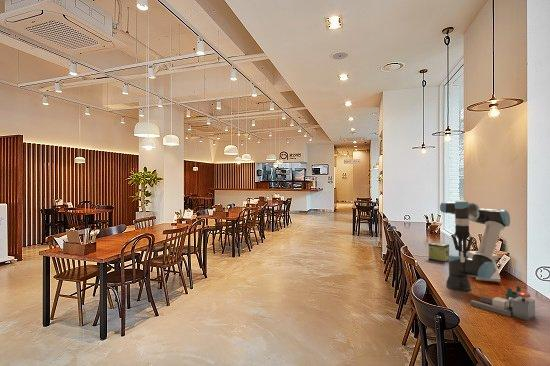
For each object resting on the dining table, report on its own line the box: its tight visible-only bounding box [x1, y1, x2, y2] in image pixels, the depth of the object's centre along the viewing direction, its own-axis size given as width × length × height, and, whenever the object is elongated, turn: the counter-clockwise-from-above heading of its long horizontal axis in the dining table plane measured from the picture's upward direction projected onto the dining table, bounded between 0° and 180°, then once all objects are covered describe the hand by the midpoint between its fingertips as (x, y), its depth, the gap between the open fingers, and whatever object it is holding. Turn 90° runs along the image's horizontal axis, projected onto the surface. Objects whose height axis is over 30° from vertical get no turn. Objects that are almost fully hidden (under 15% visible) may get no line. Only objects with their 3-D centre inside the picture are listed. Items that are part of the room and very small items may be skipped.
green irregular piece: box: [505, 285, 522, 300], centre depth 190 cm, size 9×9×9 cm
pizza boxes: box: [466, 250, 501, 283], centre depth 238 cm, size 19×30×18 cm, turn 157°
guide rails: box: [470, 295, 513, 317], centre depth 181 cm, size 14×20×2 cm
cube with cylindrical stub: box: [491, 296, 508, 310], centre depth 178 cm, size 6×8×6 cm
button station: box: [507, 291, 536, 322], centre depth 170 cm, size 10×10×12 cm
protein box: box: [428, 242, 450, 263], centre depth 294 cm, size 10×16×16 cm
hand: (462, 261), depth 195 cm, fingers closed
